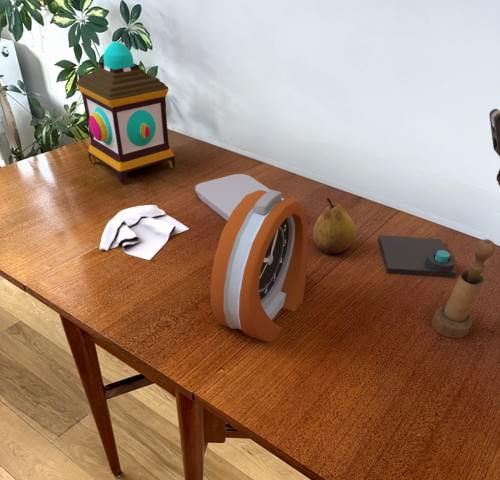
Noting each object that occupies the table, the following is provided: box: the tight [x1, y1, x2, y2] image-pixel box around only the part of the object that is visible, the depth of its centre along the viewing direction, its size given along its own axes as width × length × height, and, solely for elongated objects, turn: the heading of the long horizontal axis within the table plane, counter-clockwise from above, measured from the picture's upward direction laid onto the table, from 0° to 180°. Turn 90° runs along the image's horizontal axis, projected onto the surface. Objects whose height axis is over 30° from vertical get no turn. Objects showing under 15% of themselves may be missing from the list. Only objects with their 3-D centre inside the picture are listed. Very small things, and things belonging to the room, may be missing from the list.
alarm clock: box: [210, 189, 309, 343], centre depth 78 cm, size 22×10×23 cm, turn 151°
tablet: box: [194, 173, 284, 222], centre depth 114 cm, size 16×26×2 cm, turn 35°
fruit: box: [312, 197, 356, 255], centre depth 98 cm, size 9×9×12 cm
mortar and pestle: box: [431, 238, 497, 339], centre depth 78 cm, size 7×6×18 cm
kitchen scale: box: [377, 234, 457, 279], centre depth 100 cm, size 14×13×3 cm
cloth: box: [99, 204, 190, 261], centre depth 103 cm, size 20×22×2 cm
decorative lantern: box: [75, 40, 176, 184], centre depth 119 cm, size 20×20×30 cm
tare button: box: [435, 250, 451, 263], centre depth 95 cm, size 3×3×2 cm
